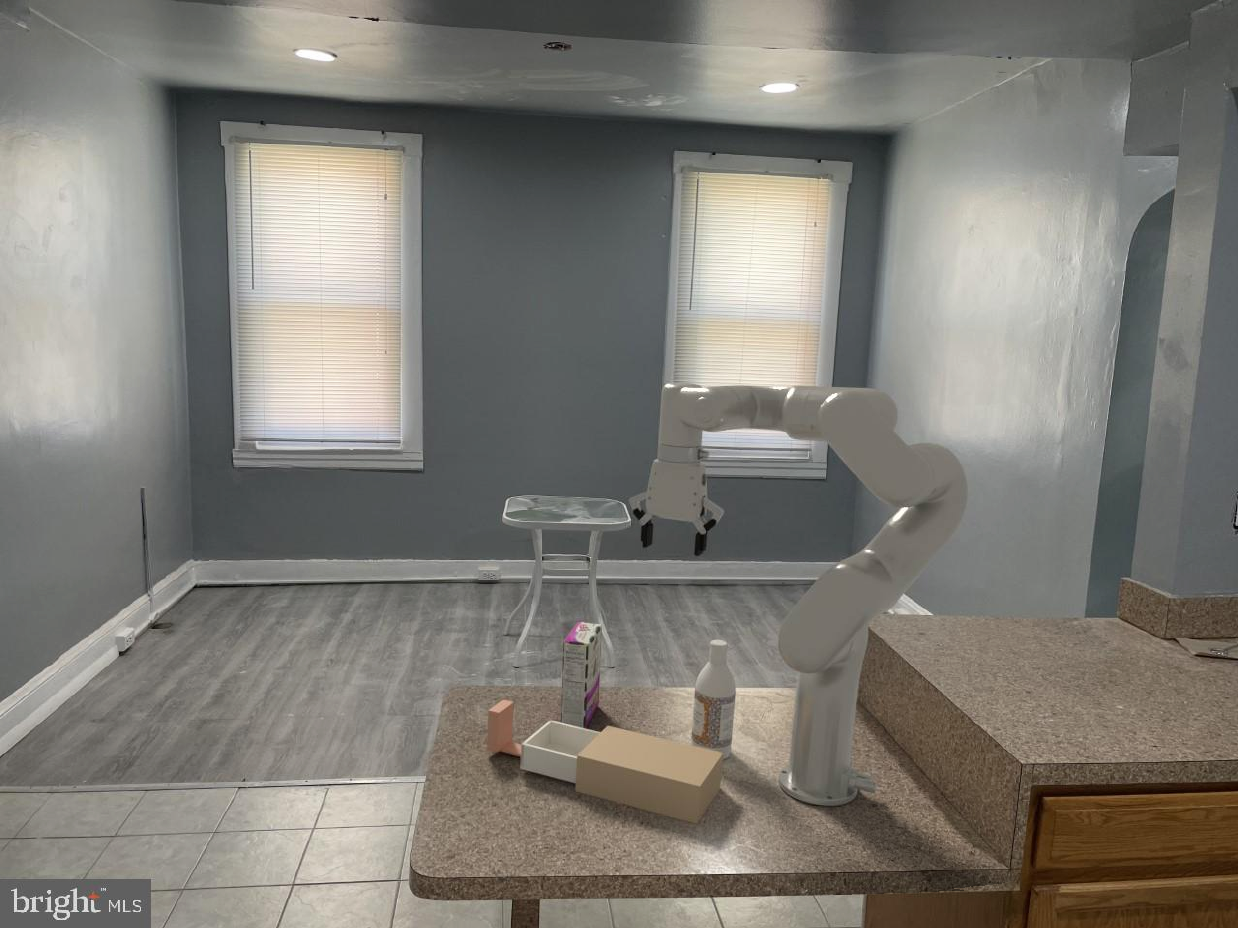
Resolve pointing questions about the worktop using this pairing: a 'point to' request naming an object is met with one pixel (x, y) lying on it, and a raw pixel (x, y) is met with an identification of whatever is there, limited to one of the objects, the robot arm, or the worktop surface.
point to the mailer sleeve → (649, 773)
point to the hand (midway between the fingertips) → (672, 550)
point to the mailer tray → (539, 743)
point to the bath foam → (714, 703)
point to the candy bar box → (581, 674)
